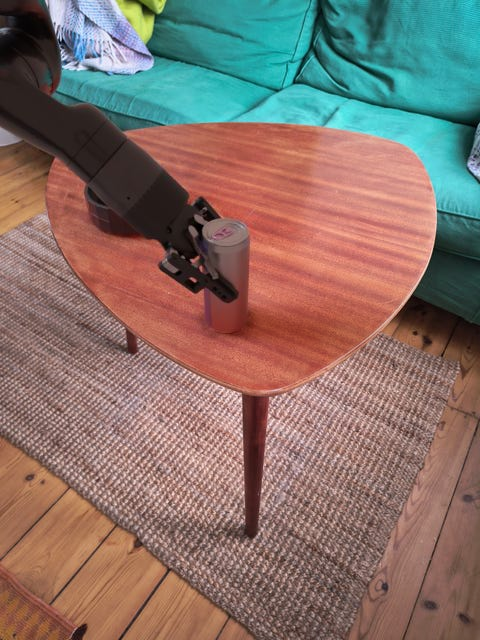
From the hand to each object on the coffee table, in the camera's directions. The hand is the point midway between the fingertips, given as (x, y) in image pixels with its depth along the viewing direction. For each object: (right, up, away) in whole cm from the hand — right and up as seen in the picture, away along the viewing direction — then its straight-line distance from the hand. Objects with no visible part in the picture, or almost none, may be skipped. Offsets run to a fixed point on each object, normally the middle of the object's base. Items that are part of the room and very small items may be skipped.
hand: (238, 282), depth 61 cm
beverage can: (-2, -5, +6) cm, 8 cm away
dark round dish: (-19, +15, +25) cm, 35 cm away
